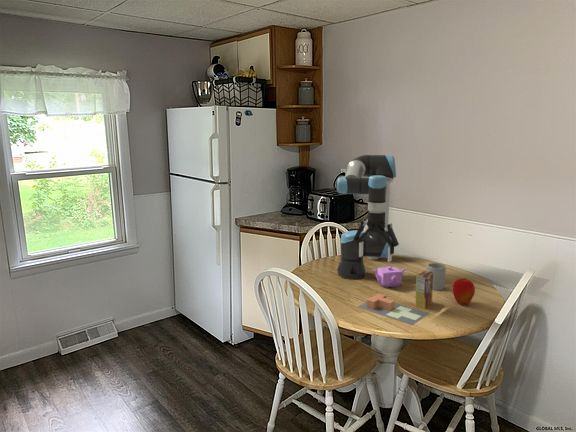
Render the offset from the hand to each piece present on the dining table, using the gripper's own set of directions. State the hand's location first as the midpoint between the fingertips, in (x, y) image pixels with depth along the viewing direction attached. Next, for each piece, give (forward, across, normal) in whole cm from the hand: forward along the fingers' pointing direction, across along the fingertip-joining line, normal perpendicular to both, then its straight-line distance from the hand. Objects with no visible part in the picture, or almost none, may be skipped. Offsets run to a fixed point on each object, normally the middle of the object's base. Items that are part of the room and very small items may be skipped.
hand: (375, 258), depth 198 cm
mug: (+20, +17, +34) cm, 43 cm away
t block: (+19, +7, -6) cm, 21 cm away
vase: (+20, -27, +60) cm, 68 cm away
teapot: (+20, -1, +21) cm, 29 cm away
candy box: (+20, +21, +6) cm, 29 cm away
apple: (+20, +34, +19) cm, 44 cm away
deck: (+20, +12, -7) cm, 24 cm away
